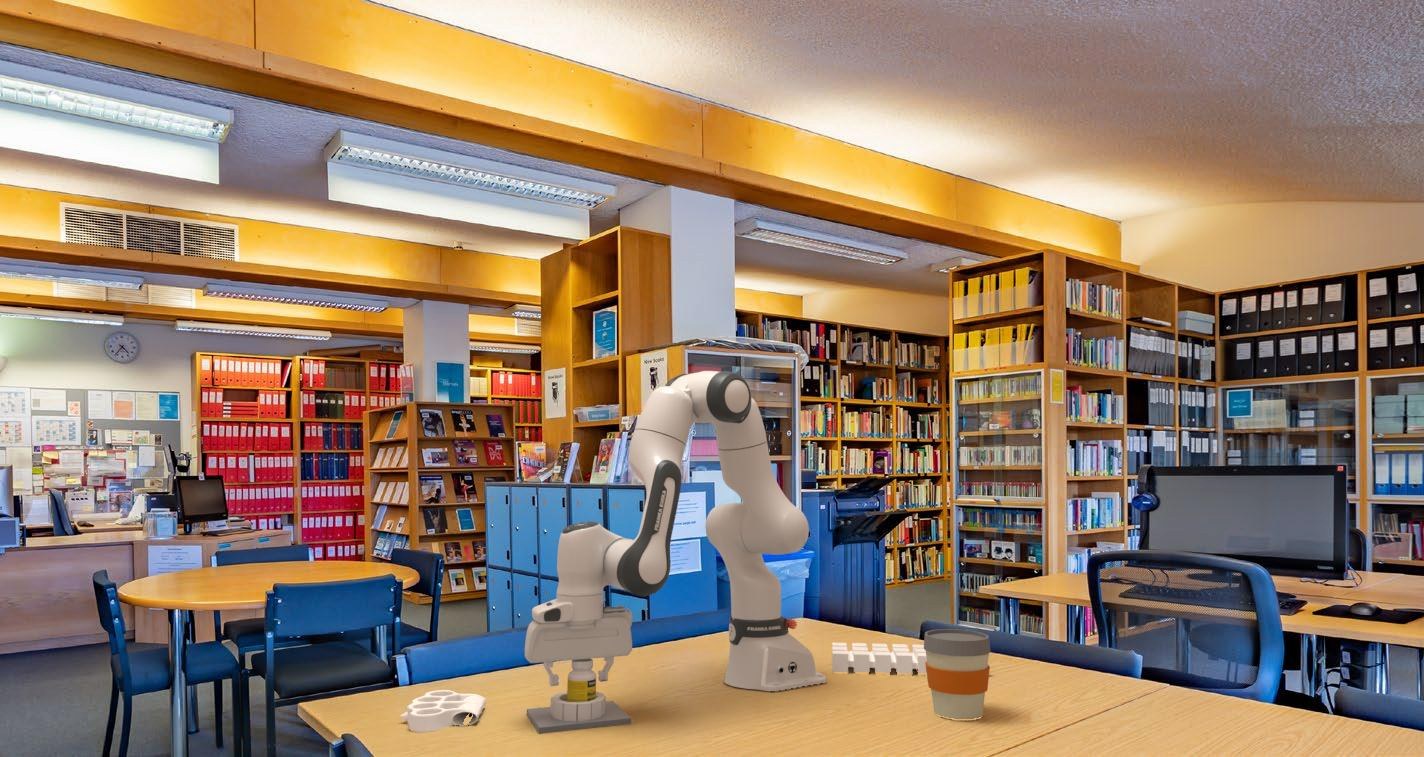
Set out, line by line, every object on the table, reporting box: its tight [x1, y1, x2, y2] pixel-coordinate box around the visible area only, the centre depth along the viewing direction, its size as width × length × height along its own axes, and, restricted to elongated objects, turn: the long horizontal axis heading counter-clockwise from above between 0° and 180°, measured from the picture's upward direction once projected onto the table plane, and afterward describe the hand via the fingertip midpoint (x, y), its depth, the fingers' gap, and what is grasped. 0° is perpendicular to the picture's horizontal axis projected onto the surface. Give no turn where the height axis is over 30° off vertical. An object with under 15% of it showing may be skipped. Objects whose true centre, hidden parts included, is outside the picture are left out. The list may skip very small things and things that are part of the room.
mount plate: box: [526, 691, 632, 734], centre depth 170 cm, size 17×13×4 cm
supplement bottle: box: [566, 658, 597, 702], centre depth 170 cm, size 5×5×10 cm
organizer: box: [831, 642, 927, 674], centre depth 211 cm, size 13×5×35 cm
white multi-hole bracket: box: [398, 689, 487, 733], centre depth 170 cm, size 3×18×15 cm
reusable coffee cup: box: [923, 628, 992, 719], centre depth 174 cm, size 13×13×15 cm
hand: (578, 683), depth 170 cm, fingers open, 8 cm apart
